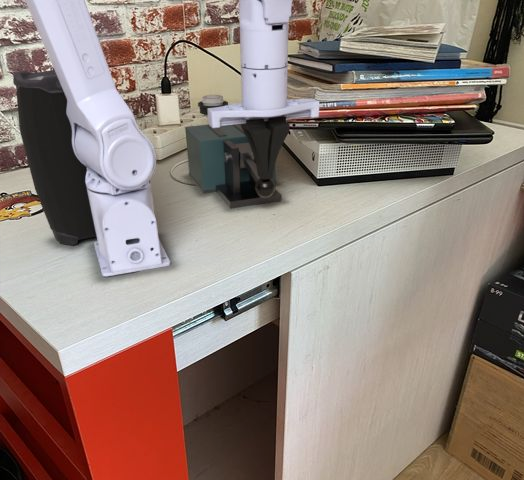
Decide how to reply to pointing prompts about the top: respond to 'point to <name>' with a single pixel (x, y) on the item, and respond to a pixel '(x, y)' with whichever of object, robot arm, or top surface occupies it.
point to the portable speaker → (53, 156)
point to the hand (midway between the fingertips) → (265, 177)
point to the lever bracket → (239, 183)
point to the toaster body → (212, 154)
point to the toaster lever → (254, 171)
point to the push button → (211, 103)
